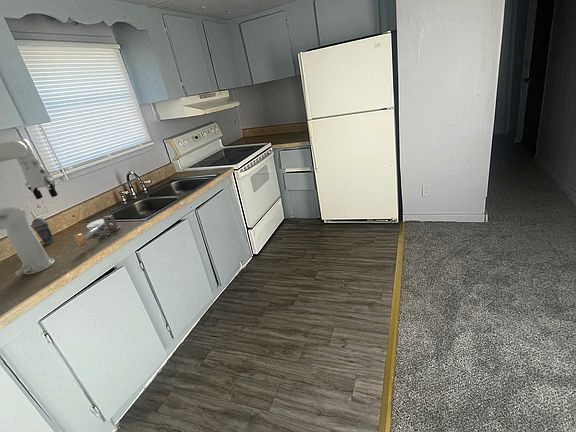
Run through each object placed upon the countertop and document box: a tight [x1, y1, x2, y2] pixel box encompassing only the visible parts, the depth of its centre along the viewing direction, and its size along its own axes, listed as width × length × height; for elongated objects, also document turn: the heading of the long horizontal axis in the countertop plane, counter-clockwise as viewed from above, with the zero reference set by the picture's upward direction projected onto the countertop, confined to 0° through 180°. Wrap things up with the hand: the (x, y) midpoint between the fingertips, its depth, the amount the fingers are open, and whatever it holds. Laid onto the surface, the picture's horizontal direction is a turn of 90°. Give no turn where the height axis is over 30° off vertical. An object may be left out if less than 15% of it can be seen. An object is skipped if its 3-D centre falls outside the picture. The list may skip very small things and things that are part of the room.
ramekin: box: [86, 218, 108, 235], centre depth 180 cm, size 11×11×5 cm
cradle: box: [97, 229, 111, 240], centre depth 169 cm, size 4×5×5 cm
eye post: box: [102, 214, 121, 233], centre depth 175 cm, size 5×6×9 cm
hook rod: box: [73, 223, 106, 248], centre depth 162 cm, size 20×4×6 cm, turn 171°
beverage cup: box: [30, 211, 55, 245], centre depth 173 cm, size 7×7×20 cm
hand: (47, 197), depth 157 cm, fingers open, 9 cm apart
